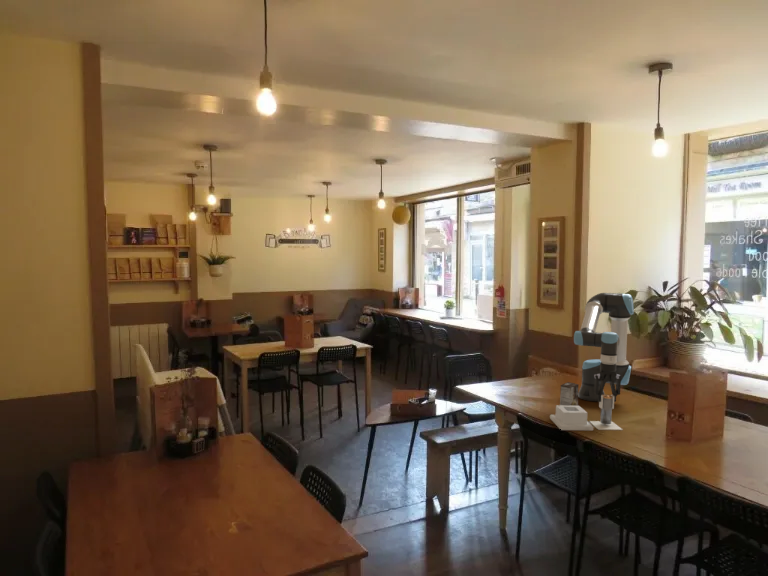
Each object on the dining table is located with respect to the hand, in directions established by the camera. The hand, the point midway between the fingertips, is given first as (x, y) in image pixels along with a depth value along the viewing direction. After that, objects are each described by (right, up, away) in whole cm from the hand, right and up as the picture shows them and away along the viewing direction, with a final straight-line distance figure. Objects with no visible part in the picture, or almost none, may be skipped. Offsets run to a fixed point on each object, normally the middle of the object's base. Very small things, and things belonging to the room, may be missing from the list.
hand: (606, 407), depth 267 cm
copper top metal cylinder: (0, -8, +1) cm, 8 cm away
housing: (-17, -9, +3) cm, 20 cm away
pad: (0, -9, +1) cm, 9 cm away
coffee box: (-12, -8, +21) cm, 25 cm away
